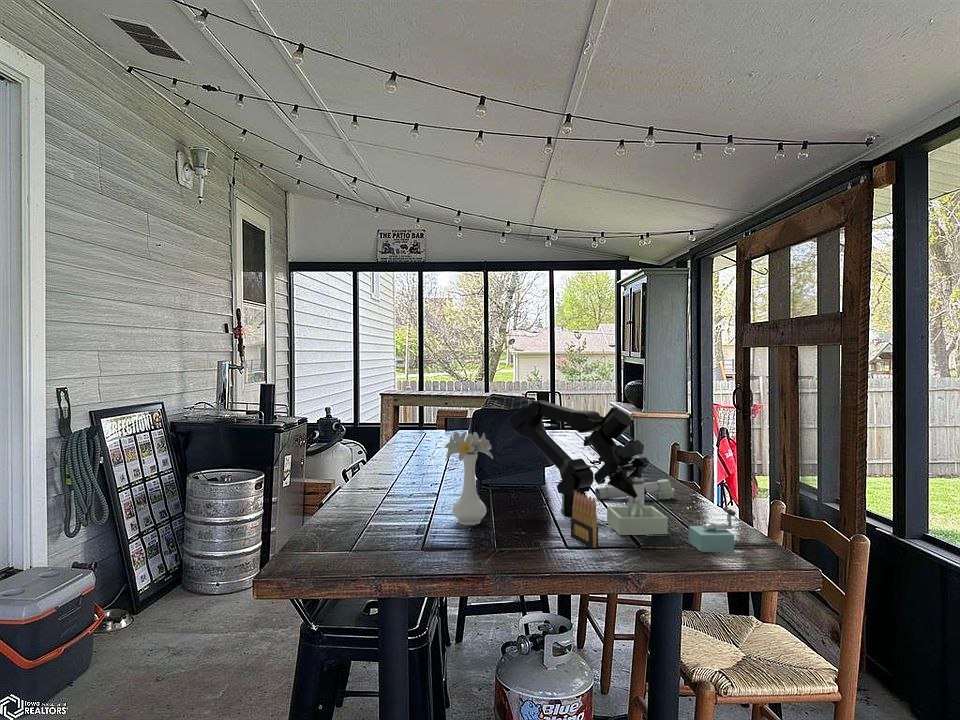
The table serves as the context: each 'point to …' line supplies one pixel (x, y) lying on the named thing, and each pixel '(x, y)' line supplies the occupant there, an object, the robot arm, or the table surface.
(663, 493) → the grey mallet
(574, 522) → the ammunition clip
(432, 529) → the table surface
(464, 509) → the flower vase
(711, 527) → the crank handle
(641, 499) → the pin
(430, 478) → the table surface
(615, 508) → the tray
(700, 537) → the crank block
